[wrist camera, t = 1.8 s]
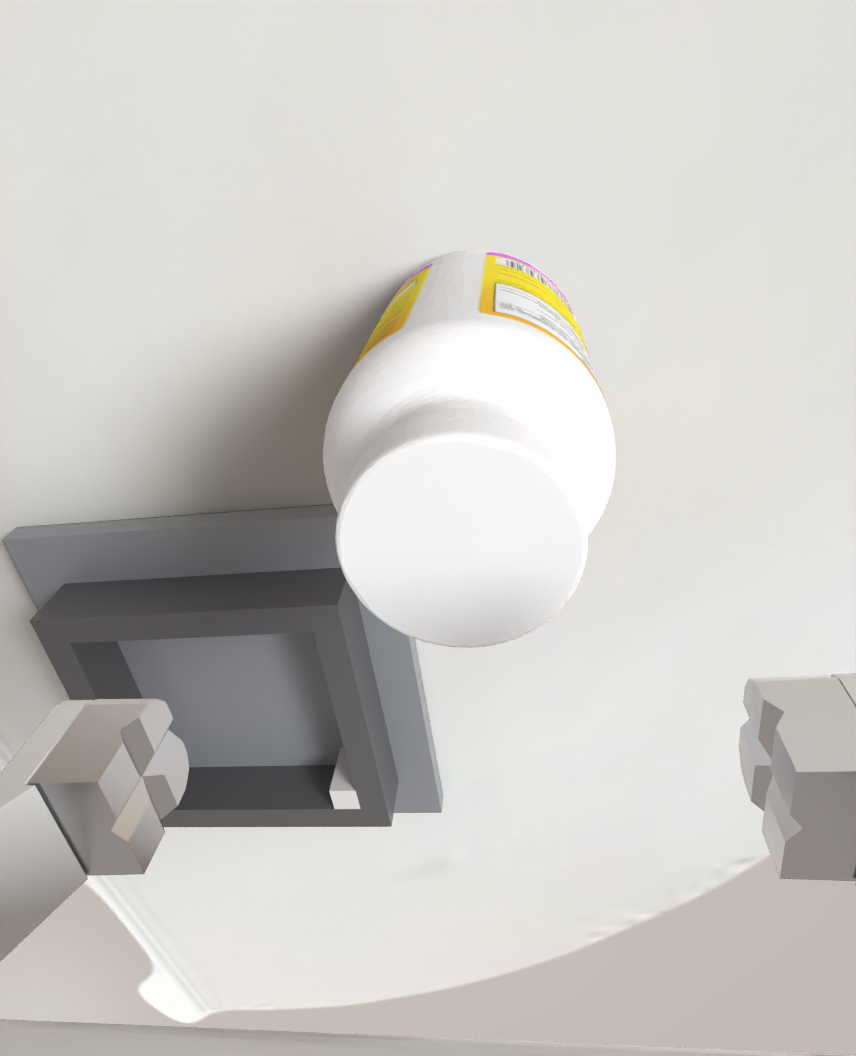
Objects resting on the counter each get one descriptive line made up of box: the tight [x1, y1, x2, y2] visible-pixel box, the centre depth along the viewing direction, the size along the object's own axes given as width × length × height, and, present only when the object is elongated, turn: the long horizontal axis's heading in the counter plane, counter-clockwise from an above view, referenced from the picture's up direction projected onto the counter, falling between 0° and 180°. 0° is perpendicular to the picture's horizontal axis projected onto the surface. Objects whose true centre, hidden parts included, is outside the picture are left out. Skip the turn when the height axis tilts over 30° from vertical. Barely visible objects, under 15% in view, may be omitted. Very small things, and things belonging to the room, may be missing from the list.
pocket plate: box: [3, 504, 443, 827], centre depth 31 cm, size 17×16×4 cm
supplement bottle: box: [323, 249, 616, 647], centre depth 18 cm, size 7×7×13 cm
